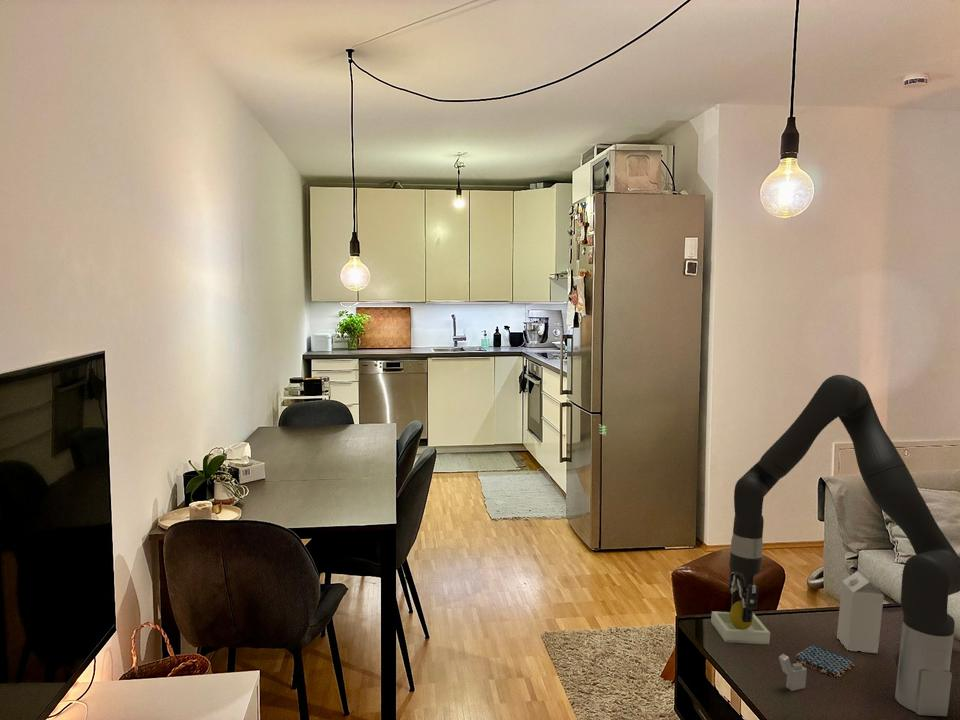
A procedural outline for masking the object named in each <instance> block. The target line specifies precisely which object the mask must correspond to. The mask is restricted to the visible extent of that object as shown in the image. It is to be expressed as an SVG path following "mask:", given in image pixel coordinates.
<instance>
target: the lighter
mask: <svg viewBox="0 0 960 720" xmlns="http://www.w3.org/2000/svg"><path fill="white" fill-rule="evenodd" d="M778 660H779V663H780V666H781V670H782V672H783V673H785V674H786V684H785V688H786V689H788V690H790V691H791V692H793V691H797V690H802V689H806V683H807V672H808V668H807V667H806V666H804V665H802V664H800V663H797V662H795V663H791V661H790V657H789V656H788V655H786V654H785V653H782V654H780V655H779V656H778Z"/></svg>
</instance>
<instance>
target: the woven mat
mask: <svg viewBox="0 0 960 720" xmlns="http://www.w3.org/2000/svg"><path fill="white" fill-rule="evenodd" d="M794 658H795V659H794V661H796V662H795V663H800V664H802V666H804V665H805V666H804V667H806V666H809V667H811V668H815V669H817V670H819V671H821V672H822V674H823V673H826V674H829V672H830V674H829V675H830V676H831V675H832V674H834V675H833V676H834V677H838V676H839V677H838V678H840V677H842V676H841V675H844V674H845V673H846V671H844V670H848V669H849V670H851V668H852V669H853V667H852V666H854V667H855V663H854V660H853V659H850V658H851V657H844V655H843V654H840V655H839V654H837V652H835V651H830V649H824V648H823V646H820V647H819V646H817V644H813V645H809V647H806V649H803V650H801V652H797V654H796V655H795V657H794ZM797 660H799V661H797ZM808 664H809V665H808ZM850 665H851V666H850ZM809 667H808V668H809ZM850 667H851V668H850ZM811 668H810V669H811ZM818 668H820V669H818ZM847 668H848V669H847ZM827 670H828V671H827ZM821 672H820V673H821ZM844 672H845V673H844ZM840 673H843V674H841V675H840ZM826 674H825V675H826ZM830 676H829V677H830Z"/></svg>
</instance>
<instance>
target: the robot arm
mask: <svg viewBox="0 0 960 720" xmlns="http://www.w3.org/2000/svg"><path fill="white" fill-rule="evenodd" d="M820 384H821V385H820V386H819V387H818V389H817V390H816V391H815V392H814V394H813V396H812V398H811V399H810V400H809V402H808V403H807V405H806V406H805V408H803V410H802V412H800V414H799V415H798V416H797V418H796V419H795V420H794V421H793V423H792V424H791V425H790V426H789V427H788V428H787V430H786V431H785V432H784V433H782V435H781V436H780V437H779V438H778V439H777V440H776V441H775V442H774V443H773V444H772V445H771V446H770V447H769V448H768V449H767V450H766V451H765V452H764V453H763V455H762V456H761V457H760V459H759V460H758V461H757V462H756V463H755V464H754V465H753V466H751V468H750V469H749V470H748V471H746V472H745V473H744V474H743V475H742V476H741V477H740V478H739V479H738V480H737V481H736V483H735V486H734V490H733V491H734V492H733V508H734V518H733V529H732V537H731V541H730V550H729V551H730V552H729V553H730V554H729V564H728V565H729V566H728V567H729V578H728V589H730V593H731V602H730V603H731V604H730V607H732V605H733V604H734V603H736V602H738V601H741V600H742V602H743V610H742V621H743V622H751V621H752V612H753V610H755V609H758V605H759V604H758V602H759V593H760V586H759V585H758V584H756V583H755V580H754V578H755V577H754V576H756V575H759V574H760V573H761V571H762V562H763V561H762V559H763V558H762V557H763V549H764V547H763V546H764V543H763V542H764V541H763V538H764V537H763V534H764V523H765V522H764V521H765V520H764V516H763V506H764V505H763V504H764V499H765V496H766V495H767V494H768V493H769V492H770V491H771V489H772V488H773V487H774V486H775V485H776V484H777V483H778V482H779V480H781V479H782V478H784V477H785V476H787V475H788V474H789V473H790V472H791V471H792V470H793V469H794V468H795V467H796V466H797V465H798V464H799V462H800V461H801V460H802V459H803V458H804V457H805V456H806V454H807V453H808V451H809V450H810V448H811V447H812V445H813V444H814V442H815V440H816V439H817V437H818V436H819V435H820V434H821V433H822V431H823V430H824V429H825V428H826V427H827V426H829V424H831V423H832V422H833V421H835V420H836V419H837V418H838V419H839V420H840V422H841V423H842V425H843V427H844V429H845V430H846V431H847V433H848V435H849V438H850V440H851V442H852V445H853V450H854V454H855V458H856V459H855V460H856V462H857V463H856V464H857V467H858V471H859V473H860V476H861V478H862V480H863V481H864V482H863V483H864V484H865V486H866V488H867V490H868V492H869V494H870V496H871V498H872V500H873V501H874V502H875V503H876V505H877V506H878V507H879V508H880V509H881V510H882V512H883V513H884V514H886V515H887V517H888V518H890V519H891V520H892V522H894V523H895V524H896V525H897V526H898V527H899V528H900V529H901V530H902V532H903V534H904V535H905V536H906V538H907V539H908V542H909V543H910V545H911V546H912V549H913V551H914V553H915V554H914V555H912V556H910V557H909V558H908V559H907V560H906V562H905V563H904V566H903V567H902V568H903V569H902V574H901V590H900V591H901V592H900V608H901V611H902V613H903V614H902V616H903V617H902V618H903V619H902V628H901V637H900V645H899V654H898V655H899V656H898V666H897V673H896V682H895V683H896V684H895V693H894V698H895V700H896V702H898V703H899V704H900V706H901V705H902V707H904V708H905V709H907V710H909V711H912V712H914V713H915V714H917V715H918V716H931V717H933V716H934V717H935V716H936V717H948V714H949V713H948V712H949V704H950V695H951V694H950V693H951V685H952V676H953V673H952V672H951V671H950V669H951V660H952V652H953V651H952V650H953V645H954V644H953V643H954V635H955V625H956V623H955V622H956V621H955V620H954V618H953V616H952V615H951V614H949V613H948V605H949V604H948V601H949V596H951V595H955V594H957V593H959V592H960V556H959V555H958V553H957V552H956V551H955V549H954V547H953V546H952V545H951V542H949V540H948V538H947V537H946V535H944V532H943V531H942V529H941V528H940V526H939V525H938V523H937V521H936V520H935V518H934V516H933V514H932V512H931V511H930V508H929V507H928V505H927V503H926V501H925V498H924V497H923V496H922V494H921V492H920V490H919V489H918V486H917V484H916V482H915V479H914V478H913V476H912V475H911V473H910V470H909V468H908V467H907V465H906V463H905V462H904V460H903V458H902V456H901V454H900V453H899V451H898V449H897V448H896V446H895V445H894V443H893V441H892V440H891V438H890V437H889V435H888V434H887V432H886V431H885V429H884V427H883V425H882V423H881V421H880V419H879V416H878V414H877V411H876V409H875V406H874V403H873V401H872V399H871V396H870V393H869V390H868V389H867V387H866V386H865V385H864V384H863V383H862V382H861V381H859V380H858V379H856V378H853V377H851V376H848V375H845V374H834V375H831V376H829V377H828V378H826V379H825V380H824V381H823V382H822V383H820Z"/></svg>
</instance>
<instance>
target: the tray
mask: <svg viewBox="0 0 960 720" xmlns="http://www.w3.org/2000/svg"><path fill="white" fill-rule="evenodd" d="M710 617H711V619H710V623H711V624H712V626H713V627H714V629H715V630H716V632H717V633H718V634H719V636H720V637H721V639H722V640H723V641H724V643H732V644H734V643H735V644H751V645H752V644H754V645H755V644H756V645H770V643H771V642H770V640H771V631H770V630H769V629H768V628H767V627H766V626H765V625H764V624H763V622H762V621H761V620H760V619H759V618H758V616H757V615H756V614H755V613H754V612H753V621H752V624H751V626H750V627H749V628H747V629H744V630H740V629H737V628H736V627H734V626H733V624H732V623H731V620H730V611H712V610H711V616H710Z"/></svg>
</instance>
